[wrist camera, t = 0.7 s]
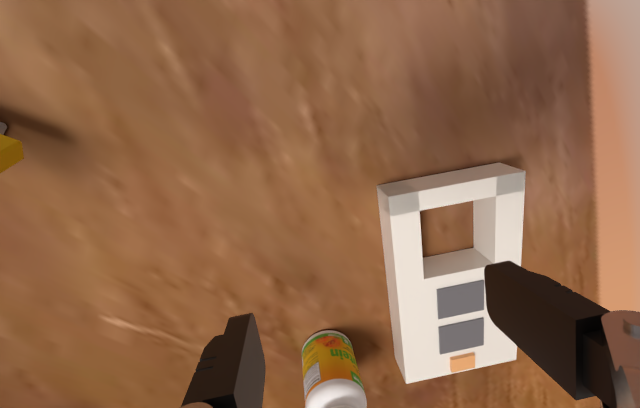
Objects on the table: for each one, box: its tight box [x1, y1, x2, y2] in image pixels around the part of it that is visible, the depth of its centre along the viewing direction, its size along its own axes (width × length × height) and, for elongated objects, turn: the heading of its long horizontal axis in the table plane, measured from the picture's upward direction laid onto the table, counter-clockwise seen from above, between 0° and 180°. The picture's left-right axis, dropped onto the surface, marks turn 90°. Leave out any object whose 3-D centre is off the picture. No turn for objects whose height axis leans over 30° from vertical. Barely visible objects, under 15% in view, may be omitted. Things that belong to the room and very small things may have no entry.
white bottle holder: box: [377, 163, 526, 384], centre depth 32 cm, size 20×12×4 cm, turn 9°
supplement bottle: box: [302, 330, 367, 408], centre depth 31 cm, size 5×5×10 cm
